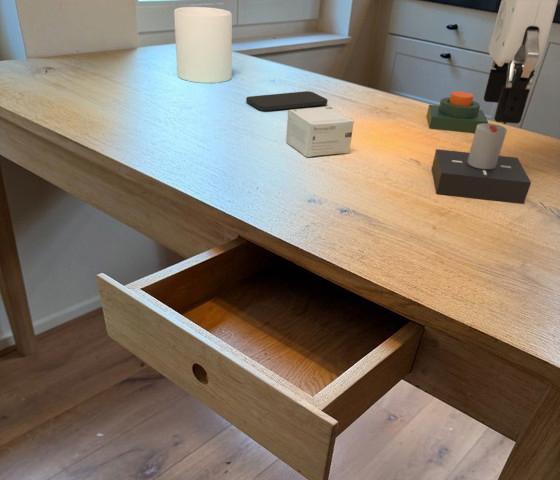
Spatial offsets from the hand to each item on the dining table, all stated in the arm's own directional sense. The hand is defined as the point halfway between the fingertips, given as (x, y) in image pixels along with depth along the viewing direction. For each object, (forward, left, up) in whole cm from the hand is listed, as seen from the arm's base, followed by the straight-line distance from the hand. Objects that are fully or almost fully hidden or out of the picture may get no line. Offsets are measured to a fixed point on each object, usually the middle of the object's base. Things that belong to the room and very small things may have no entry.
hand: (500, 111), depth 75 cm
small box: (+25, -9, -10) cm, 28 cm away
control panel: (+1, 0, -10) cm, 10 cm away
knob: (+1, 0, -7) cm, 7 cm away
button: (+1, -30, -7) cm, 31 cm away
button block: (+1, -30, -10) cm, 32 cm away
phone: (+33, -33, -10) cm, 47 cm away
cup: (+53, -48, -10) cm, 72 cm away
